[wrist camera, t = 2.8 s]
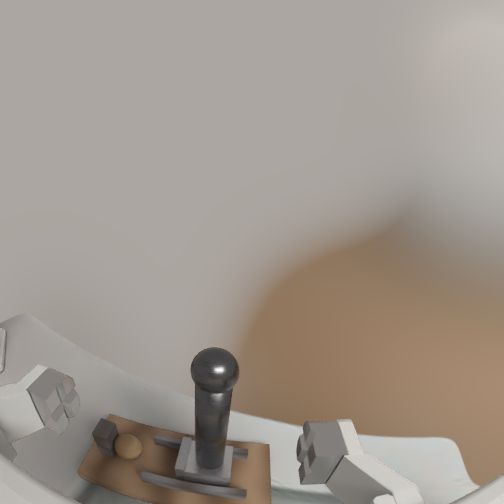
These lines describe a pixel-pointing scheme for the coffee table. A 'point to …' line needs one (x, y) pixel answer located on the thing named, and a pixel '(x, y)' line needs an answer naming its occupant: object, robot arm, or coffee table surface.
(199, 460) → the handle slide
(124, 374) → the coffee table surface
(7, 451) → the robot arm
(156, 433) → the base
